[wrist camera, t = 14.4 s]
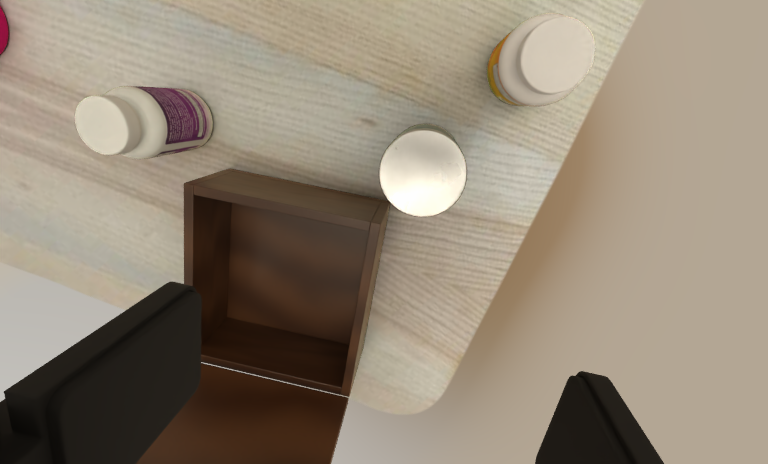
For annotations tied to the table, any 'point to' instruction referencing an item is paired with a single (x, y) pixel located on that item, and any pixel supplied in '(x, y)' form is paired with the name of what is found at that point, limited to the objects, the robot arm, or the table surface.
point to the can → (423, 171)
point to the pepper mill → (3, 31)
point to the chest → (282, 275)
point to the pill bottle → (143, 121)
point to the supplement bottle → (541, 60)
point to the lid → (250, 423)
